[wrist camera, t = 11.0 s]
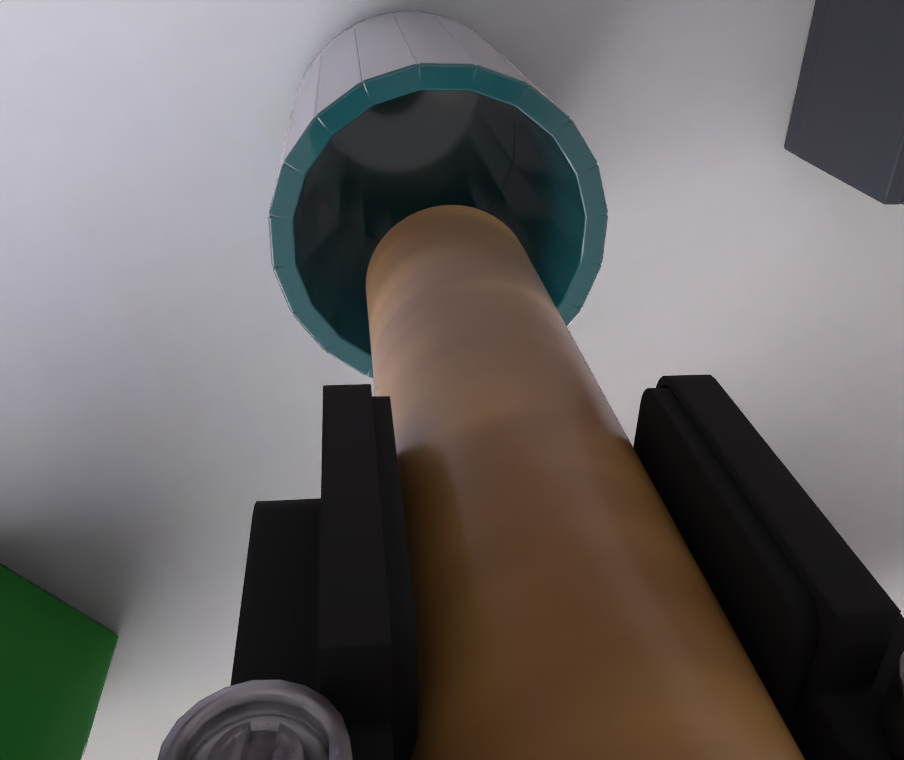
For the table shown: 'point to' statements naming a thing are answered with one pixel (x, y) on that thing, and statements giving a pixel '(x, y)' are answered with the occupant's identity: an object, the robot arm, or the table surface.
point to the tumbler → (423, 168)
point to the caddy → (853, 96)
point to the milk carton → (47, 673)
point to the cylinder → (539, 529)
